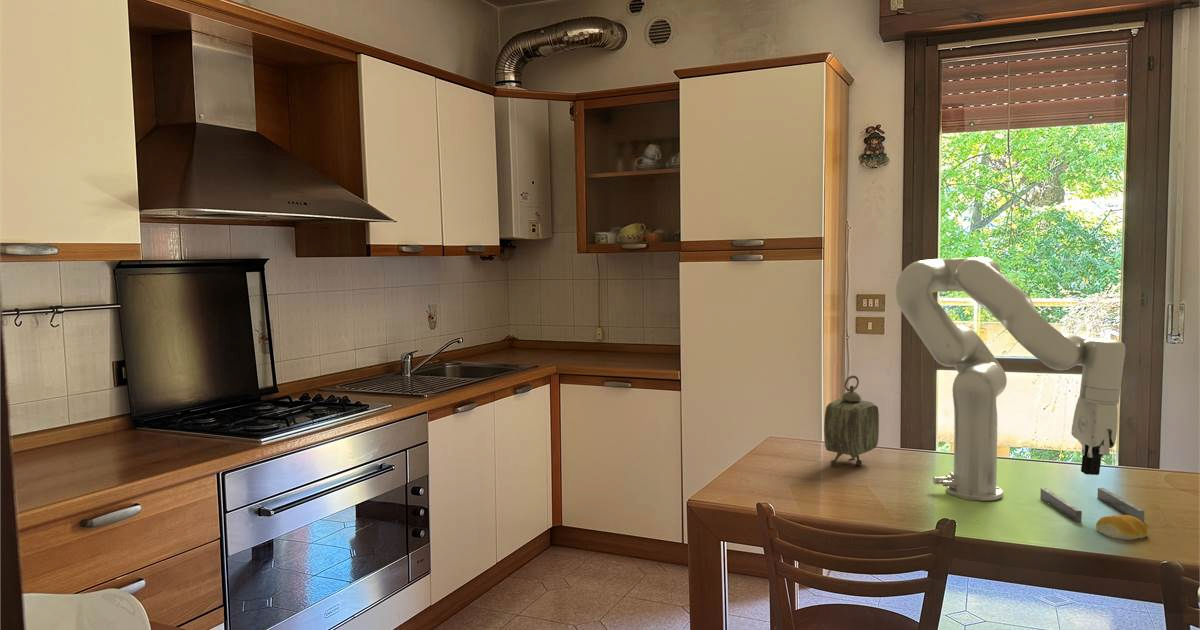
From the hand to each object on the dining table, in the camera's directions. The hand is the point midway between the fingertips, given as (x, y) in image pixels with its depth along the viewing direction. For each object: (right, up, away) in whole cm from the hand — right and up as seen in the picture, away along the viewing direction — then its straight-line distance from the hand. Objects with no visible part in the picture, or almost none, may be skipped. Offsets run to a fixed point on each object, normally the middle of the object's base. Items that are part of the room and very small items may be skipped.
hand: (1089, 473), depth 181 cm
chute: (+2, -9, +3) cm, 9 cm away
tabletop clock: (-40, -6, +43) cm, 59 cm away
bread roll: (-1, -11, -12) cm, 16 cm away
